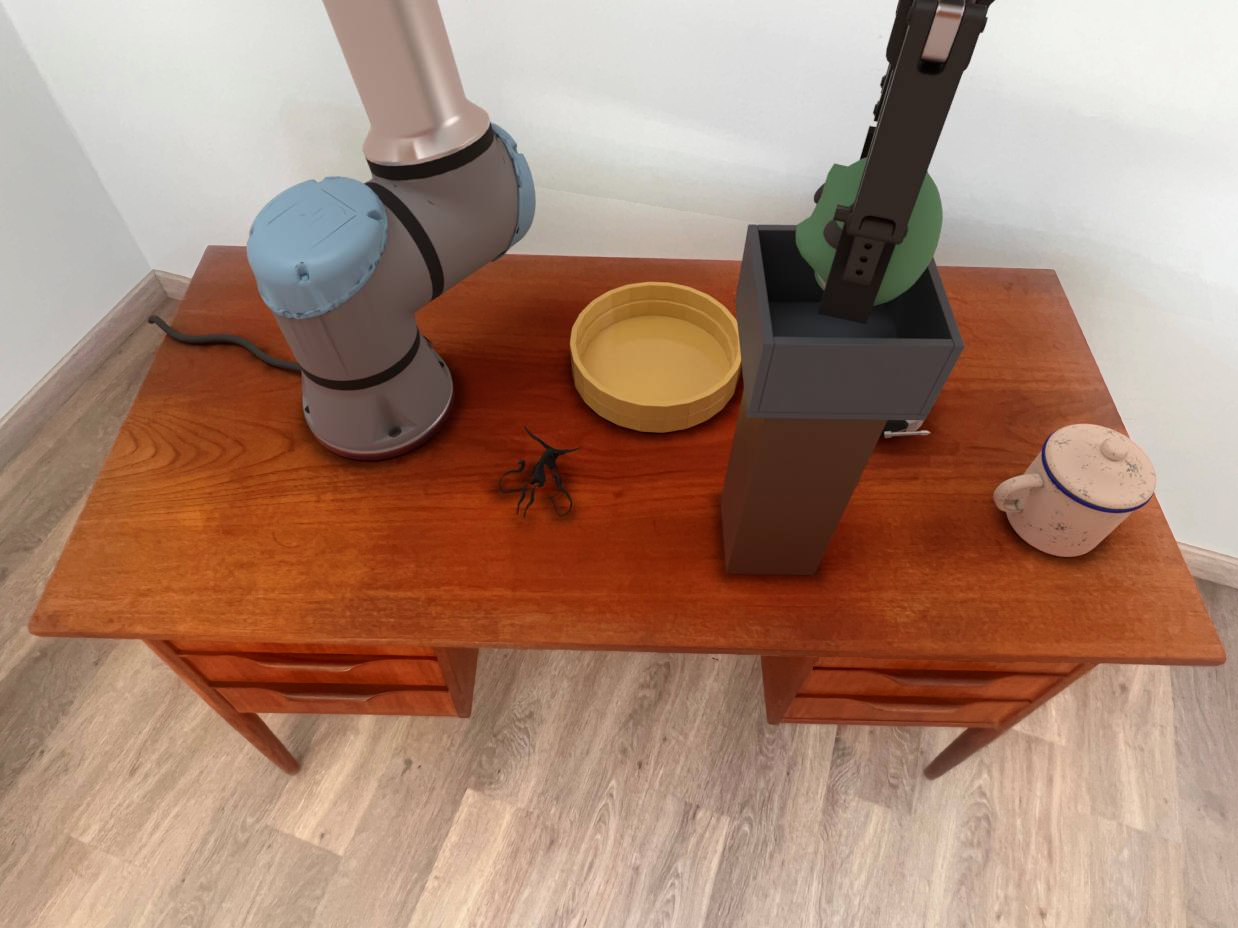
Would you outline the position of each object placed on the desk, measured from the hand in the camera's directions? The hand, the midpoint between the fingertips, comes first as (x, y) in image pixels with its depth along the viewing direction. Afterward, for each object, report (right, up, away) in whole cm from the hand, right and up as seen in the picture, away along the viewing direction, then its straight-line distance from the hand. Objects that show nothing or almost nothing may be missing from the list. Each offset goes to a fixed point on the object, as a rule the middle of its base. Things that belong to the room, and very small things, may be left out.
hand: (852, 271), depth 44 cm
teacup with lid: (+26, -17, +27) cm, 41 cm away
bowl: (-10, -1, +38) cm, 39 cm away
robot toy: (+11, -5, +35) cm, 37 cm away
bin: (0, -18, +26) cm, 31 cm away
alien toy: (0, -1, +1) cm, 2 cm away
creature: (-22, -14, +29) cm, 39 cm away
